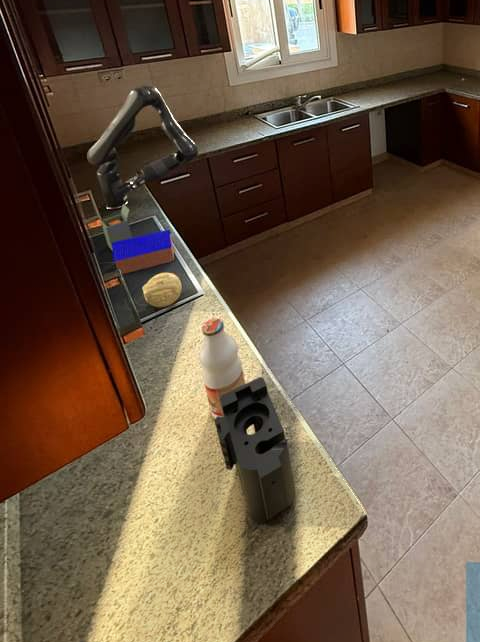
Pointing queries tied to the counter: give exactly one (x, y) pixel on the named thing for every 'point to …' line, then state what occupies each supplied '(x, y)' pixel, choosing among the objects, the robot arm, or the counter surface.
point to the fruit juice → (219, 364)
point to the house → (143, 251)
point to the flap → (125, 211)
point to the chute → (116, 230)
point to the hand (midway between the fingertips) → (119, 191)
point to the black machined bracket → (256, 449)
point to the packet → (114, 222)
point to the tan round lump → (162, 289)
